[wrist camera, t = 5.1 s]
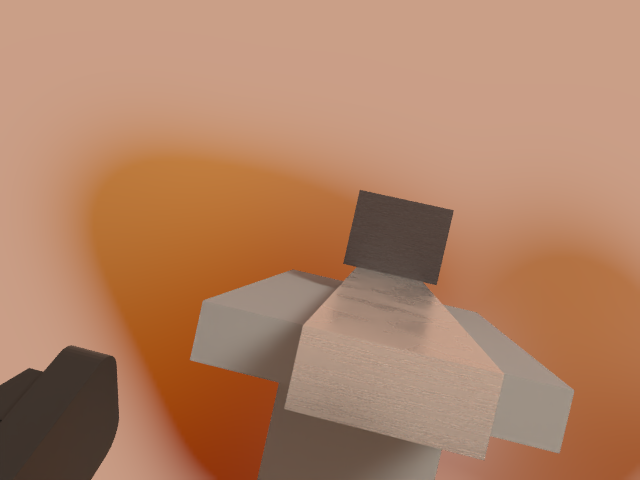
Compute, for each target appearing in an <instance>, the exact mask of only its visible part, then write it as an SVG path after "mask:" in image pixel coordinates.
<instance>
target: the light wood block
mask: <svg viewBox="0 0 640 480" xmlns="http://www.w3.org/2000/svg"><path fill="white" fill-rule="evenodd" d="M452 215H453V210H450V209H444V208H440V207H435V206H431V205H426V204H422V203H417V202H412V201H408V200H404V199H399V198H394V197H389V196H385V195H381V194H376V193H371V192H367V191H362V190H360V192H359V197H358V201H357V205H356V210H355V215H354V219H353V223H352V228H351V232H350V236H349V241H348V245H347V250H346V255H345V259H344V263H343V264H347V265H352V266H356V267H357V268H356V269H355V270H354V271H353V272H352V273H351V274H350V275H349V276H348V277H347V278H346V279H345V281H344V282H343V283H342V284H341V285H340V286H339V287H338V288H337V289H336V290H335V291H334V292H333V293H332V294H331V296H330V297H329V298H328V299H327V300H326V301H325V302H324V303H323V304H322V305H321V306H320V307H319V309H318V310H317V311H316V312H315V313H314V314H313V315H312V316H311V317H310V318H309V319H308V320H307V321H306V323H305V324H304V325H303V327H302V332H301V336H300V340H299V345H298V349H297V354H296V358H295V363H294V367H293V372H292V376H291V381H290V385H289V389H288V394H287V398H286V403H285V407H284V409H286V410H290V411H294V412H298V413H302V414H306V415H309V416H313V417H317V418H321V419H325V420H329V421H333V422H337V423H341V424H345V425H348V426H352V427H356V428H360V429H364V430H368V431H372V432H376V433H380V434H383V435H387V436H391V437H395V438H399V439H403V440H407V441H411V442H415V443H418V444H422V445H426V446H430V447H434V448H438V449H442V450H446V451H450V452H453V453H457V454H462V455H465V456H469V457H473V458H477V459H481V460H485V455H486V451H487V447H488V443H489V438H490V434H491V430H492V425H493V421H494V417H495V413H496V408H497V404H498V400H499V395H500V391H501V387H502V383H503V378H504V373H503V372H502V371H501V370H500V369H499V367H498V366H497V365H496V364H495V363H494V362H493V361H492V360H491V358H490V357H489V356H488V355H487V354H486V353H485V352H484V351H483V349H482V348H481V347H480V346H479V345H478V344H477V343H476V342H475V340H474V339H473V338H472V337H471V336H470V335H469V334H468V333H467V331H466V330H465V329H464V328H463V327H462V326H461V325H460V324H459V322H458V321H457V320H456V319H455V318H454V317H453V316H452V315H451V313H450V312H449V311H448V310H447V309H446V308H445V307H444V306H443V305H442V303H441V302H440V301H439V300H438V299H437V298H436V297H435V296H434V295H433V293H432V292H431V291H430V290H429V289H428V288H427V287H426V285H425V284H424V283H423V282H426V283H430V284H434V285H436V284H437V281H438V276H439V272H440V267H441V263H442V258H443V254H444V250H445V246H446V241H447V237H448V233H449V228H450V224H451V220H452Z"/></svg>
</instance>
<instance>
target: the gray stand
mask: <svg viewBox="0 0 640 480" xmlns="http://www.w3.org/2000/svg"><path fill="white" fill-rule="evenodd" d="M343 282H344V281H339V280H335V279H331V278H326V277H322V276H318V275H314V274H310V273H305V272H301V271H296V270H290V271H287V272H285V273H282V274H279V275H276V276H273V277H270V278H267V279H264V280H262V281H259V282H256V283H253V284H250V285H247V286H244V287H241V288H238V289H235V290H233V291H230V292H227V293H224V294H221V295H218V296H215V297H212V298H209V299H206V300H204V301H203V303H202V308H201V313H200V317H199V322H198V326H197V331H196V335H195V340H194V344H193V349H192V354H191V358H190V360H192V361H196V362H200V363H204V364H208V365H212V366H216V367H220V368H224V369H228V370H232V371H236V372H240V373H243V374H247V375H251V376H255V377H259V378H263V379H267V380H272V381H275V382H279V386H278V390H277V395H276V399H275V403H274V408H273V413H272V417H271V421H270V426H269V430H268V435H267V439H266V444H265V448H264V453H263V457H262V461H261V466H260V470H259V475H258V480H435V476H436V472H437V468H438V463H439V459H440V455H441V450H442V449H438V448H434V447H430V446H426V445H422V444H418V443H415V442H411V441H407V440H403V439H399V438H395V437H391V436H387V435H383V434H380V433H376V432H372V431H368V430H364V429H360V428H356V427H352V426H348V425H345V424H341V423H337V422H333V421H329V420H325V419H321V418H317V417H313V416H309V415H306V414H302V413H298V412H294V411H290V410H286V409H284V407H285V403H286V398H287V394H288V389H289V385H290V381H291V376H292V372H293V367H294V363H295V358H296V354H297V349H298V345H299V340H300V336H301V332H302V327H303V325H304V324H305V323H306V321H307V320H308V319H309V318H310V317H311V316H312V315H313V314H314V313H315V312H316V311H317V310H318V309H319V307H320V306H321V305H322V304H323V303H324V302H325V301H326V300H327V299H328V298H329V297H330V296H331V294H332V293H333V292H334V291H335V290H336V289H337V288H338V287H339V286H340V285H341V284H342V283H343ZM443 306H444V307H445V308H446V309H447V310H448V311H449V312H450V313H451V315H452V316H453V317H454V318H455V319H456V320H457V321H458V322H459V324H460V325H461V326H462V327H463V328H464V329H465V330H466V331H467V333H468V334H469V335H470V336H471V337H472V338H473V339H474V340H475V342H476V343H477V344H478V345H479V346H480V347H481V348H482V349H483V351H484V352H485V353H486V354H487V355H488V356H489V357H490V358H491V360H492V361H493V362H494V363H495V364H496V365H497V366H498V367H499V369H500V370H501V371H502V372H503V373H504V378H503V383H502V387H501V391H500V395H499V400H498V404H497V408H496V413H495V417H494V421H493V425H492V430H491V434H490V436H493V437H497V438H501V439H505V440H509V441H512V442H517V443H521V444H524V445H528V446H533V447H536V448H540V449H544V450H548V451H552V452H556V453H560V449H561V445H562V441H563V436H564V432H565V428H566V424H567V420H568V415H569V411H570V407H571V402H572V398H573V394H574V390H573V389H572V388H570V387H569V386H568V385H567V384H566V383H564V382H563V381H562V380H561V379H559V378H558V377H557V376H556V375H554V374H553V373H552V372H550V371H549V370H548V369H547V368H546V367H544V366H543V365H542V364H541V363H539V362H538V361H537V360H535V359H534V358H533V357H532V356H530V355H529V354H528V353H527V352H525V351H524V350H523V349H522V348H520V347H519V346H518V345H517V344H515V343H514V342H513V341H511V340H510V339H509V338H508V337H507V336H505V335H504V334H503V333H502V332H500V331H499V330H498V329H497V328H495V327H494V326H493V325H492V324H490V323H489V322H488V321H487V320H485V319H484V318H483V317H482V316H480V315H479V314H478V313H476V312H473V311H468V310H464V309H460V308H455V307H451V306H446V305H443Z"/></svg>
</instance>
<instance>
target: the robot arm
mask: <svg viewBox="0 0 640 480" xmlns="http://www.w3.org/2000/svg"><path fill="white" fill-rule="evenodd" d="M118 421H119V409H118V388H117V366H116V360H115V358H114V357H113V356H110V355H107V354H103V353H99V352H95V351H91V350H87V349H84V348H79V347H76V346H68V347H66V348H65V349H63V350H62V351H61V352H60V353H59V355H58V356H57V357H56V358H55V359H54V360H53V362H52V363H51V364H50V365H49V366H48V367H47V369H46V370H45V371H44V372H42V371H38V370H34V369H30V368H29V369H27V370H25V371H23V372H22V373H20V374H18V375H17V376H15V377H13V378H12V379H10V380H8V381H7V382H5V383H3V384H2V385H0V480H91V479H92V477H93V476H94V474H95V472H96V471H97V469H98V468H99V466H100V464H101V463H102V461H103V460H104V458H105V456H106V455H107V453H108V451H109V449H110V447H111V445H112V443H113V440H114V437H115V434H116V431H117V427H118Z"/></svg>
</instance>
